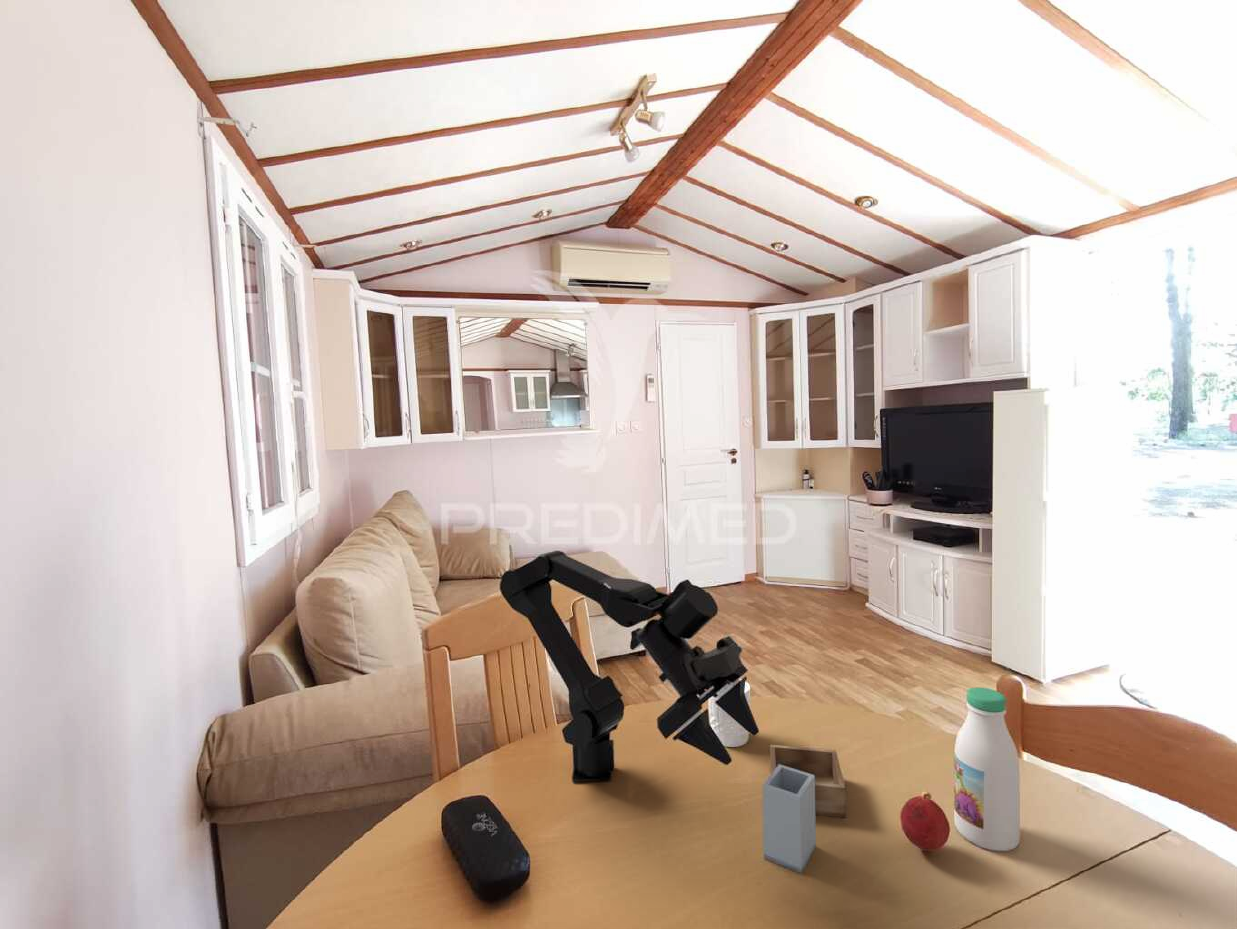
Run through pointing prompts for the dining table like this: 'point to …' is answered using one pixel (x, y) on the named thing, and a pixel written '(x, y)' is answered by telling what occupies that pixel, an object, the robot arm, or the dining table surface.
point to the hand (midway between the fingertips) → (743, 747)
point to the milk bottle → (987, 775)
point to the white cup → (728, 723)
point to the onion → (924, 822)
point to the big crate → (816, 775)
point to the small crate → (789, 817)
